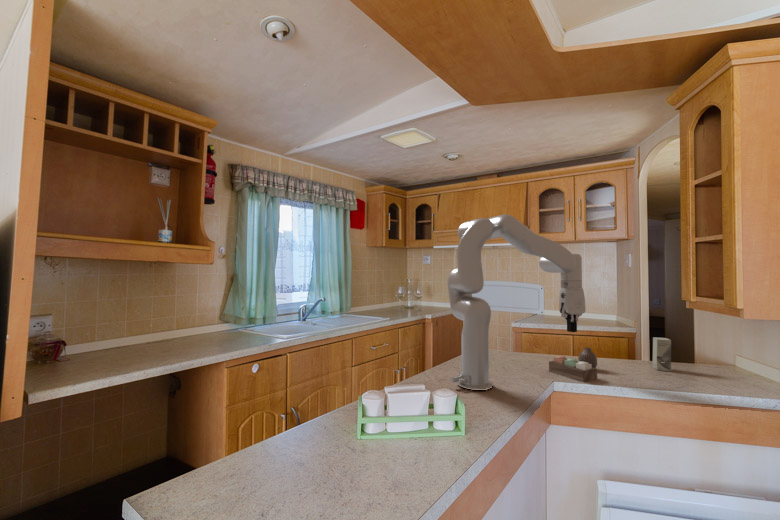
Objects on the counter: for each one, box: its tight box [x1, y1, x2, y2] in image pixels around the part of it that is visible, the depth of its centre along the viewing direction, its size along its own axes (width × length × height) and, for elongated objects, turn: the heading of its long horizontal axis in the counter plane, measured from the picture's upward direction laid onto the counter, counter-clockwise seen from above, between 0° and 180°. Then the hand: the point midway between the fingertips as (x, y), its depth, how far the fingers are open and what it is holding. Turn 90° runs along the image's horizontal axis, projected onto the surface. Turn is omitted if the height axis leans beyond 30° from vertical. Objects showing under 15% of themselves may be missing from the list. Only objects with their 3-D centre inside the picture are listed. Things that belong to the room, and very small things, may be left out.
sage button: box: [565, 358, 580, 367], centre depth 140 cm, size 4×4×3 cm
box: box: [652, 336, 672, 372], centre depth 148 cm, size 5×4×13 cm
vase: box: [577, 347, 598, 368], centre depth 148 cm, size 7×7×9 cm
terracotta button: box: [553, 355, 569, 364], centre depth 145 cm, size 4×4×3 cm
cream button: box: [576, 361, 592, 370], centre depth 136 cm, size 4×4×3 cm
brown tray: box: [548, 360, 598, 383], centre depth 140 cm, size 8×15×4 cm, turn 26°
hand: (571, 331), depth 141 cm, fingers closed
